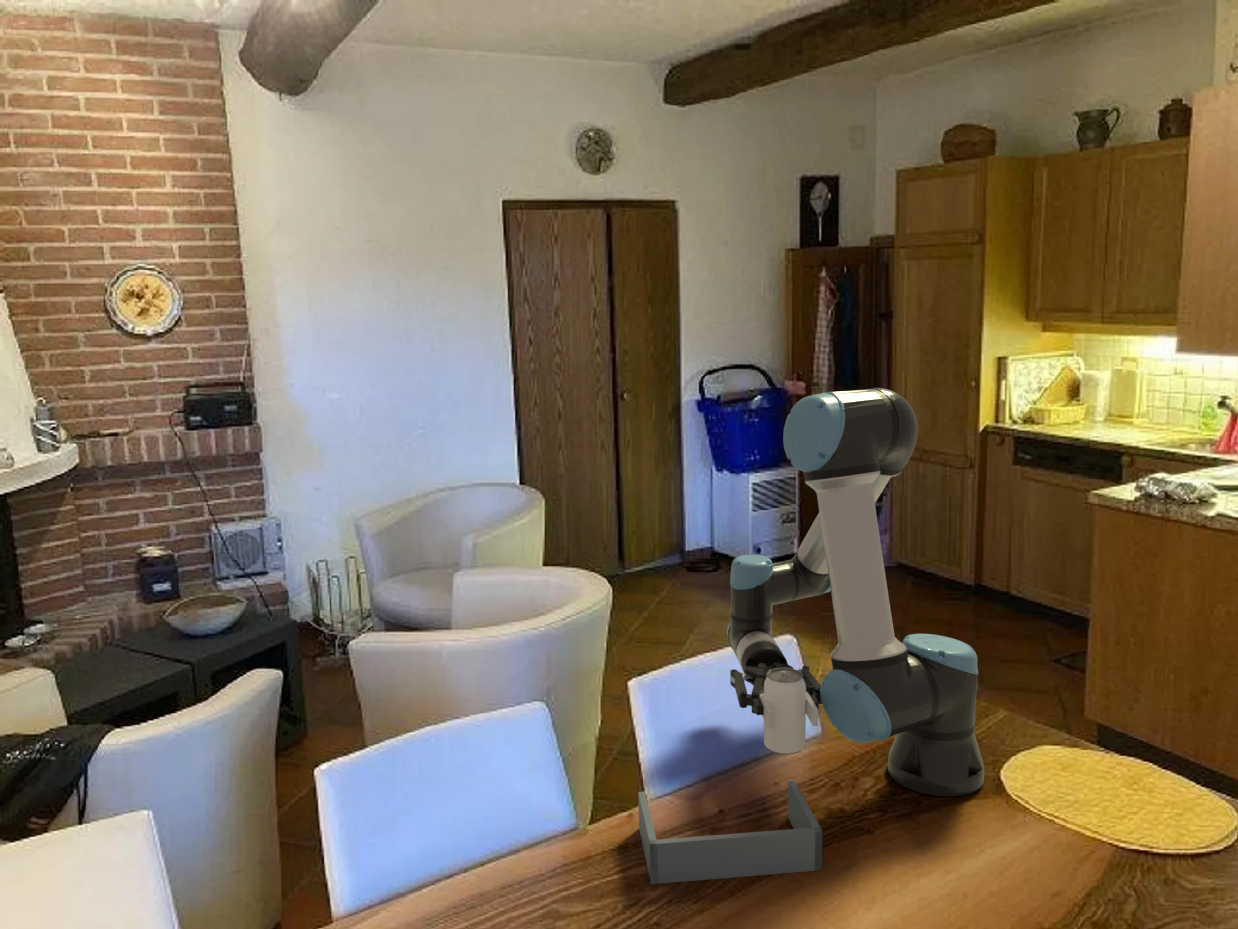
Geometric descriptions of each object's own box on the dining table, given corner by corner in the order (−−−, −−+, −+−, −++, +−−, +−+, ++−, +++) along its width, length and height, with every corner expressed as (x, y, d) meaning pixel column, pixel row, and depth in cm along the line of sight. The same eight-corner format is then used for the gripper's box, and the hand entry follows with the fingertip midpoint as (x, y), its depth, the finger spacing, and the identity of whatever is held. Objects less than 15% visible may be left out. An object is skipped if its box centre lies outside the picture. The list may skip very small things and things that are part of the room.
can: (808, 739, 157) (809, 669, 155) (800, 758, 151) (801, 685, 149) (769, 734, 159) (769, 664, 157) (759, 752, 154) (759, 680, 151)
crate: (639, 828, 148) (638, 792, 147) (794, 816, 151) (794, 780, 149) (651, 884, 135) (650, 844, 134) (821, 870, 137) (822, 831, 136)
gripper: (815, 677, 173) (854, 738, 150) (707, 683, 172) (730, 745, 149) (816, 637, 171) (855, 692, 149) (707, 643, 170) (730, 699, 148)
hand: (793, 719), depth 149 cm, fingers closed on can, 6 cm apart
